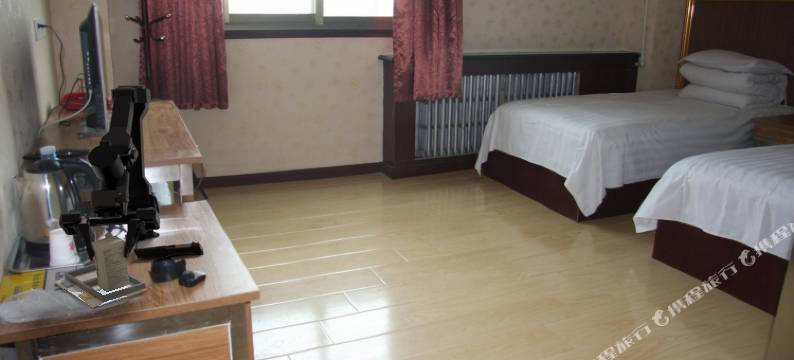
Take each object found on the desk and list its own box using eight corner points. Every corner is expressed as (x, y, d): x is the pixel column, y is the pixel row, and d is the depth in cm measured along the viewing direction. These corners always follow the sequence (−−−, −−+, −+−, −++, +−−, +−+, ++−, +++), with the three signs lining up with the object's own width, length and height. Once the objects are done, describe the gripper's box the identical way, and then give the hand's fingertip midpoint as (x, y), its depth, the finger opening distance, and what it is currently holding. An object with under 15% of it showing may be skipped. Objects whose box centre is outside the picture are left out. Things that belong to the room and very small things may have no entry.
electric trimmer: (135, 258, 150) (134, 245, 149) (203, 250, 154) (202, 238, 154) (134, 263, 146) (132, 251, 146) (203, 255, 151) (202, 243, 150)
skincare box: (121, 279, 134) (116, 234, 132) (130, 285, 131) (125, 240, 129) (96, 286, 131) (90, 241, 128) (105, 292, 128) (99, 246, 125)
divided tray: (55, 283, 134) (54, 275, 134) (106, 268, 142) (105, 261, 142) (93, 308, 123) (92, 300, 123) (146, 290, 131) (145, 282, 131)
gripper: (55, 175, 127) (45, 246, 119) (152, 170, 130) (149, 239, 123) (71, 201, 136) (63, 268, 129) (161, 196, 140) (159, 261, 132)
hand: (108, 258), depth 128 cm, fingers closed on skincare box, 6 cm apart
